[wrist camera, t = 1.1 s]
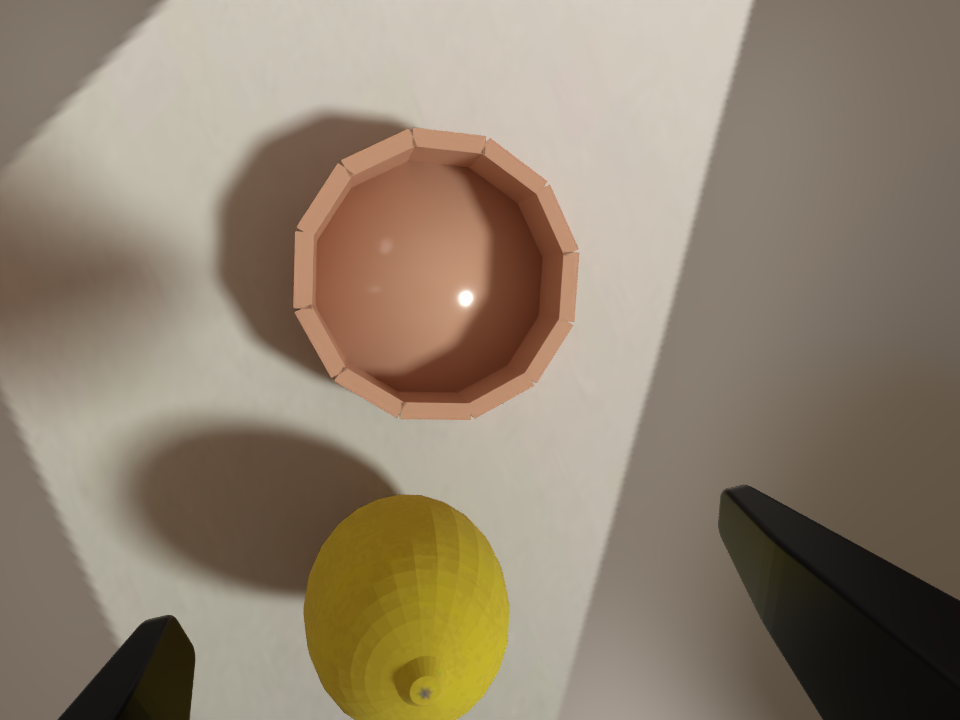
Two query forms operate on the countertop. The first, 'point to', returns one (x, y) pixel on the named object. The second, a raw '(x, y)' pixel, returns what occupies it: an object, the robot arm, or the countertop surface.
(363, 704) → the lemon
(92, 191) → the countertop surface
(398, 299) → the dish
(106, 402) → the countertop surface
